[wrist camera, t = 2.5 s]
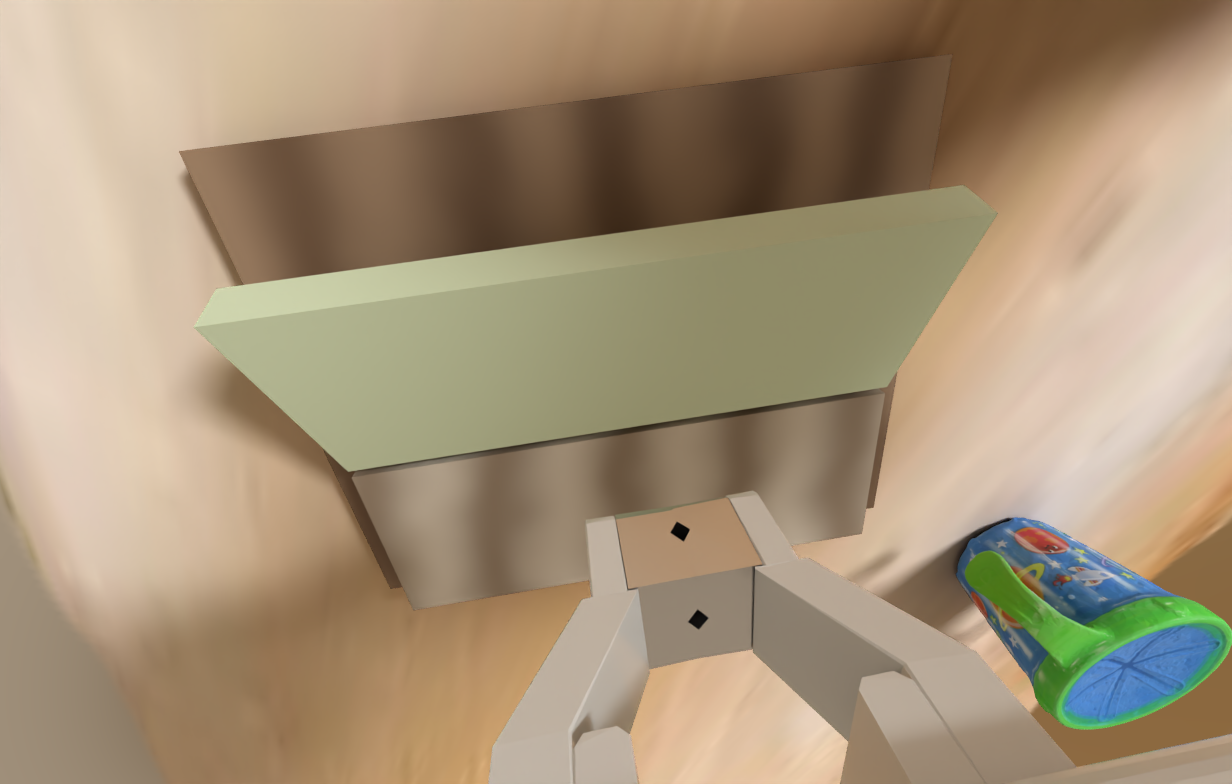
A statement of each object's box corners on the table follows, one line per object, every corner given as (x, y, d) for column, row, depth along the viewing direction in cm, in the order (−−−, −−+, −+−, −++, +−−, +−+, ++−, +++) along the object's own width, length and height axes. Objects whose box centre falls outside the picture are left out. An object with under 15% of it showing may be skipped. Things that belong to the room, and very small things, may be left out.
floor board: (932, 59, 21) (991, 43, 18) (863, 495, 32) (892, 528, 29) (199, 151, 20) (137, 150, 17) (396, 574, 31) (379, 616, 28)
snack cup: (1105, 542, 37) (1279, 665, 28) (997, 622, 41) (1122, 755, 32) (1000, 459, 32) (1173, 577, 23) (885, 559, 35) (997, 696, 26)
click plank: (964, 185, 18) (998, 213, 17) (868, 359, 26) (886, 387, 25) (216, 288, 17) (193, 327, 15) (356, 438, 25) (348, 471, 23)
